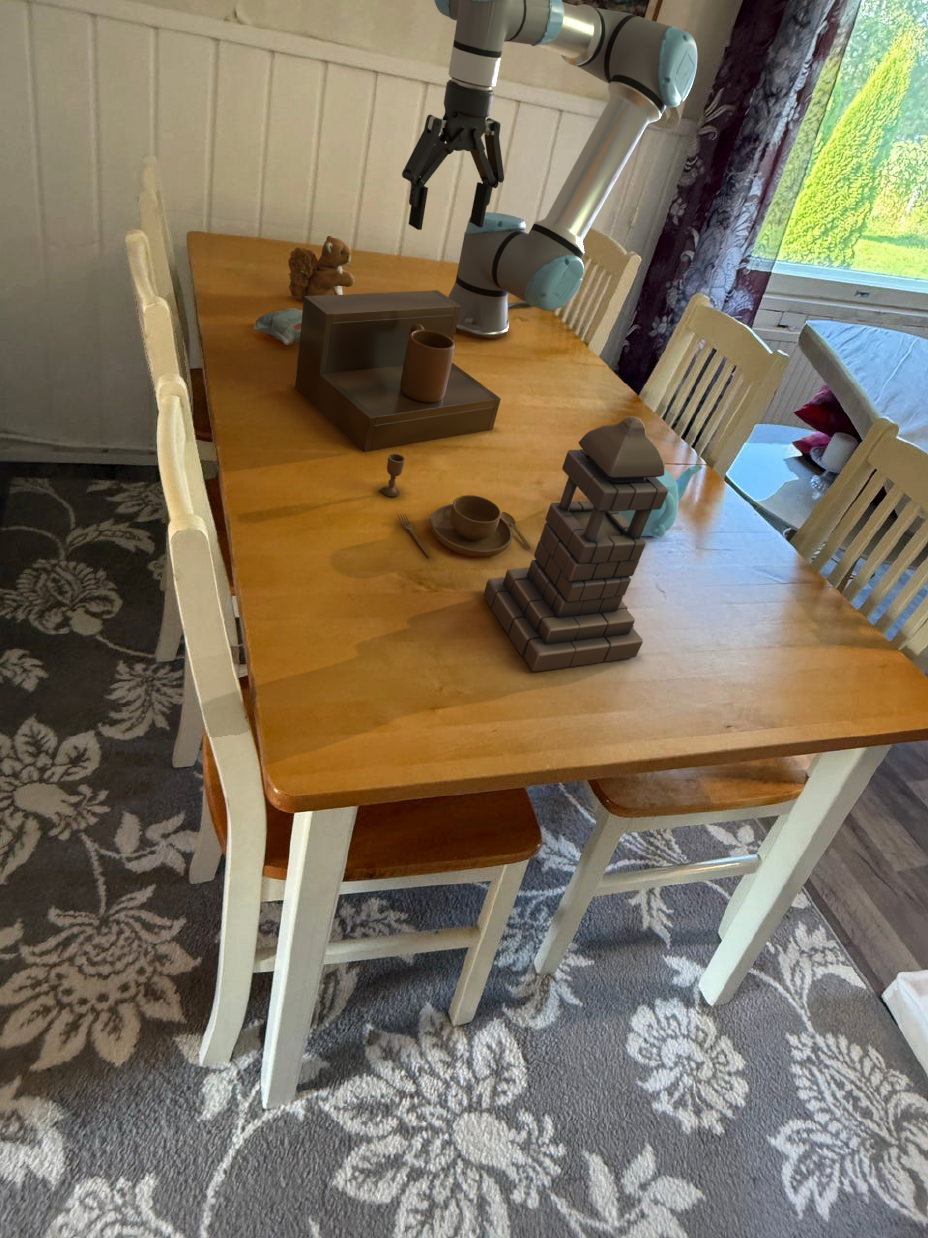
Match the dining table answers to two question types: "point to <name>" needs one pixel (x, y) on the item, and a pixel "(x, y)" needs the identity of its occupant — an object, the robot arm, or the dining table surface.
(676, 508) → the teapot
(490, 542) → the place setting
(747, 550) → the dining table surface
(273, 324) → the packaged food
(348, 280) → the stuffed squirrel
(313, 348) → the stepped stand
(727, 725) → the dining table surface
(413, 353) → the mug
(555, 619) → the miniature tower
